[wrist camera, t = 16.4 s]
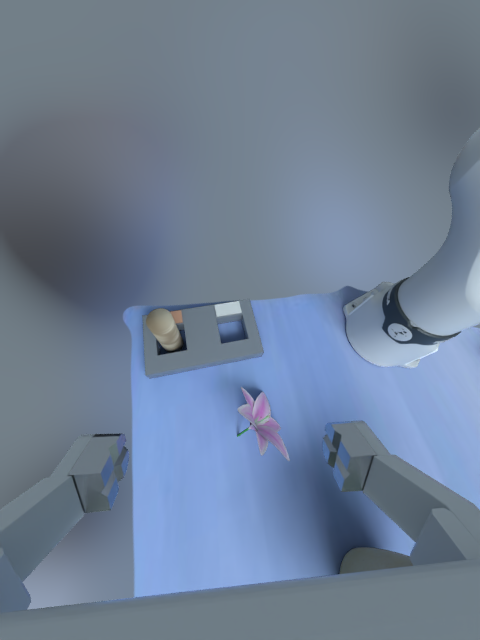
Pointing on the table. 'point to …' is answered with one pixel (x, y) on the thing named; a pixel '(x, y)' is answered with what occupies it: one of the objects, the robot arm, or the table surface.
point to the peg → (165, 330)
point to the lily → (262, 422)
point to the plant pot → (372, 560)
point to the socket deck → (203, 339)
